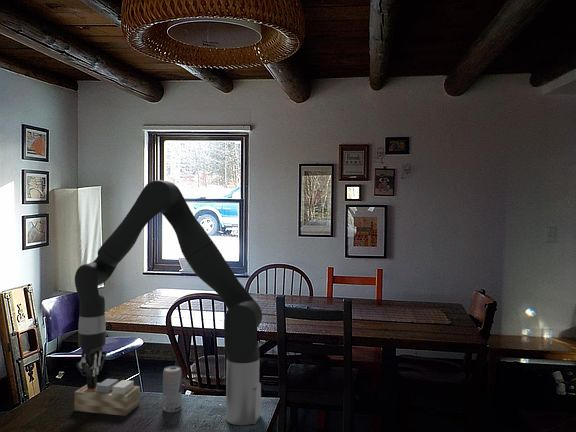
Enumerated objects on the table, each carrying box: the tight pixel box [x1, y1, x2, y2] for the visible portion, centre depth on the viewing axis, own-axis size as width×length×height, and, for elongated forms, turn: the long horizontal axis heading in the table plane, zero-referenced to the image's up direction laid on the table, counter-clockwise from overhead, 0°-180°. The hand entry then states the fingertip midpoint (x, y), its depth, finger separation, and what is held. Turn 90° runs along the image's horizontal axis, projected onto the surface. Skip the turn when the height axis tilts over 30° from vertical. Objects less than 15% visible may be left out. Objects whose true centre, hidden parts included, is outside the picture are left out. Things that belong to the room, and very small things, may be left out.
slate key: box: [97, 378, 119, 394], centre depth 149 cm, size 4×6×3 cm, turn 169°
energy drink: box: [162, 365, 183, 413], centre depth 148 cm, size 5×5×12 cm
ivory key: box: [113, 379, 135, 395], centre depth 148 cm, size 4×6×3 cm, turn 169°
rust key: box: [82, 384, 98, 392], centre depth 150 cm, size 4×6×3 cm, turn 169°
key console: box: [74, 382, 141, 417], centre depth 149 cm, size 16×8×6 cm, turn 79°
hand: (92, 387), depth 150 cm, fingers closed
